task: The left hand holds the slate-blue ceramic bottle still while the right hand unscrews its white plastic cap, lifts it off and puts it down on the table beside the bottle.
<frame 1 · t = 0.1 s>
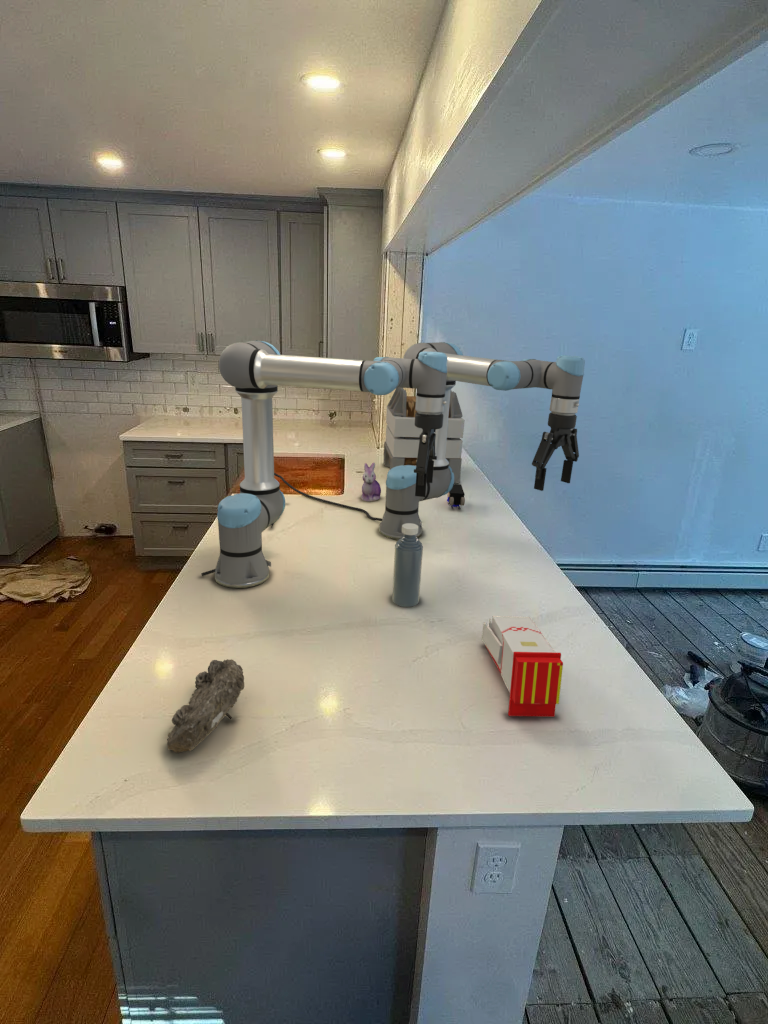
left hand: (424, 489, 157), 28 cm above the counter, tool pointing down, fingers open, 13 cm apart
right hand: (552, 485, 166), 28 cm above the counter, tool pointing down, fingers open, 13 cm apart
bottle: (405, 600, 155), on the counter
figurine character: (454, 505, 231), on the counter
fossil: (212, 717, 108), on the counter
feather: (278, 516, 211), on the counter
figurine: (370, 498, 235), on the counter
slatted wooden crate: (419, 473, 275), on the counter
cap: (410, 527, 147), point 21 cm above the counter, screwed on, not yet turned
toy: (514, 675, 125), on the counter
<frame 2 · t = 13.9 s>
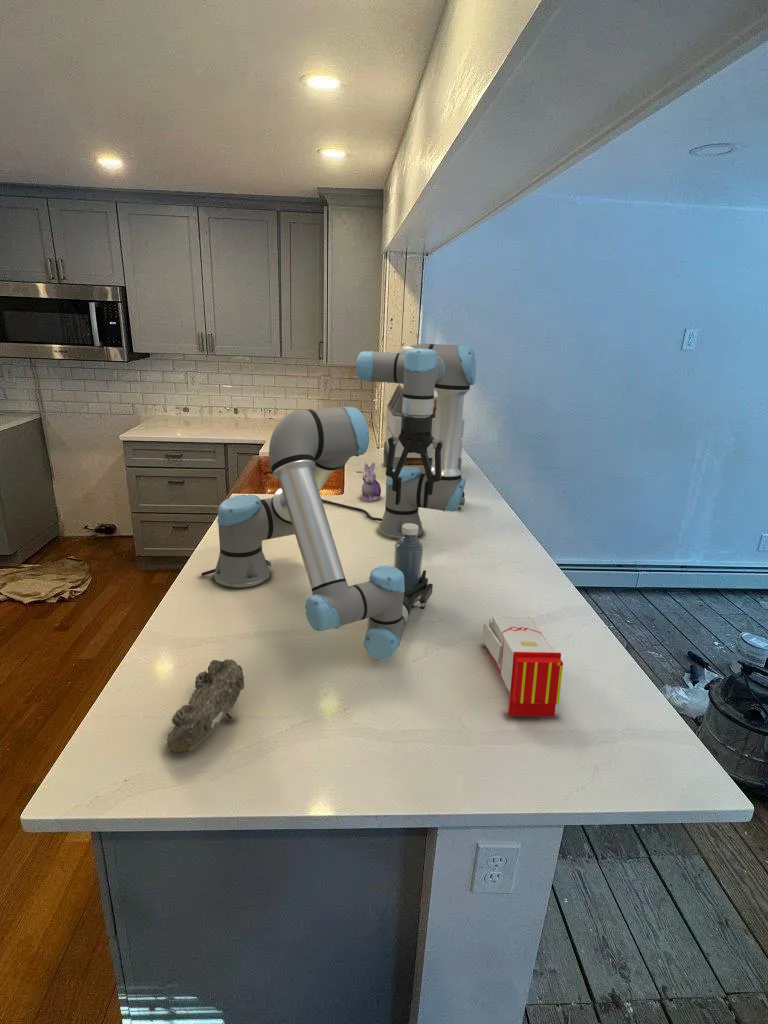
left hand: (409, 572, 157), 6 cm above the counter, tool horizontal, fingers closed on bottle, 7 cm apart
right hand: (411, 504, 145), 28 cm above the counter, tool pointing down, fingers open, 6 cm apart
bottle: (405, 600, 155), on the counter, touching left hand
everything else where it was.
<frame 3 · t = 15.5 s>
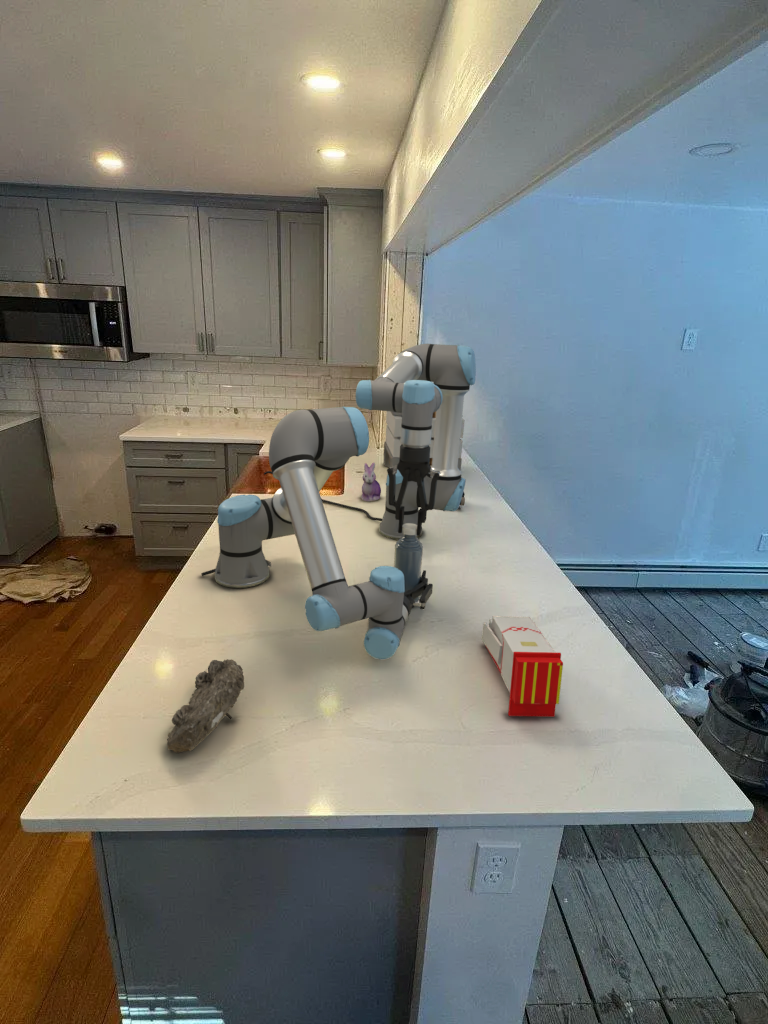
left hand: (409, 572, 157), 6 cm above the counter, tool horizontal, fingers closed on bottle, 7 cm apart
right hand: (409, 532, 148), 20 cm above the counter, tool pointing down, fingers closed on cap, 4 cm apart
bottle: (405, 600, 155), on the counter, touching left hand
cap: (410, 527, 147), point 21 cm above the counter, screwed on, not yet turned, touching right hand
everything else where it was.
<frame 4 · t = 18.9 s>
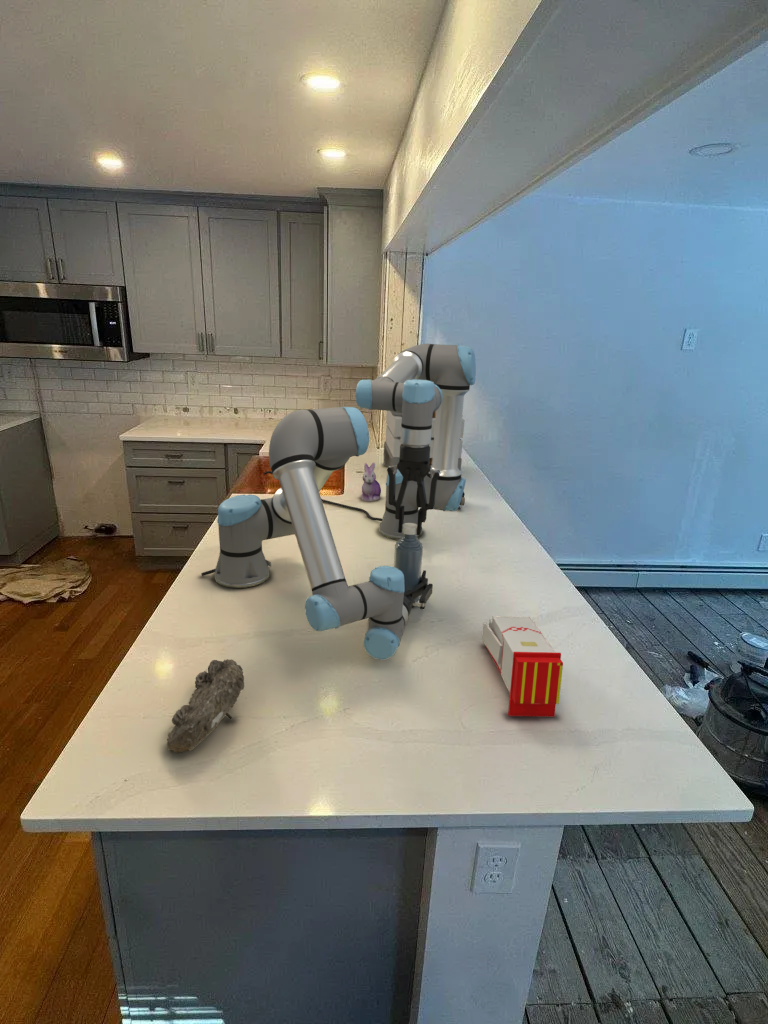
left hand: (409, 572, 157), 6 cm above the counter, tool horizontal, fingers closed on bottle, 7 cm apart
right hand: (409, 531, 148), 20 cm above the counter, tool pointing down, fingers closed on cap, 4 cm apart
bottle: (405, 600, 155), on the counter, touching left hand
cap: (410, 526, 147), point 22 cm above the counter, turned 111° so far, risen 0.1 cm, still on its thread, touching right hand
everything else where it was.
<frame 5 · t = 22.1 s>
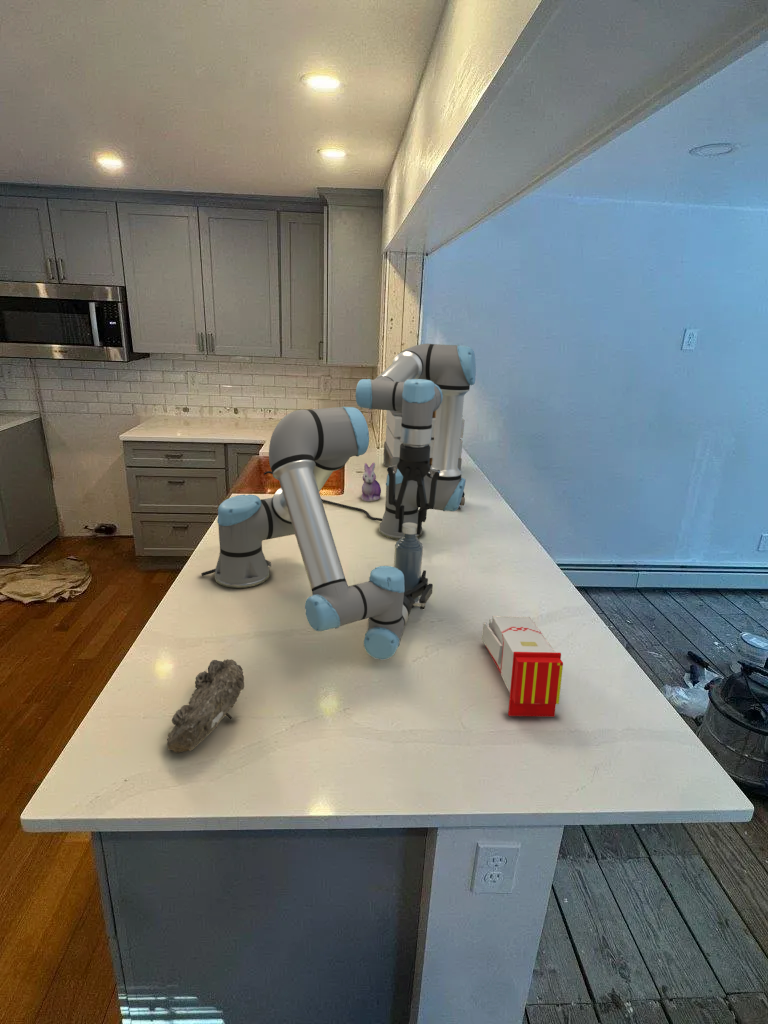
left hand: (409, 572, 157), 6 cm above the counter, tool horizontal, fingers closed on bottle, 7 cm apart
right hand: (409, 531, 148), 20 cm above the counter, tool pointing down, fingers closed on cap, 4 cm apart
bottle: (405, 600, 155), on the counter, touching left hand
cap: (410, 526, 147), point 22 cm above the counter, turned 222° so far, risen 0.2 cm, still on its thread, touching right hand
everything else where it was.
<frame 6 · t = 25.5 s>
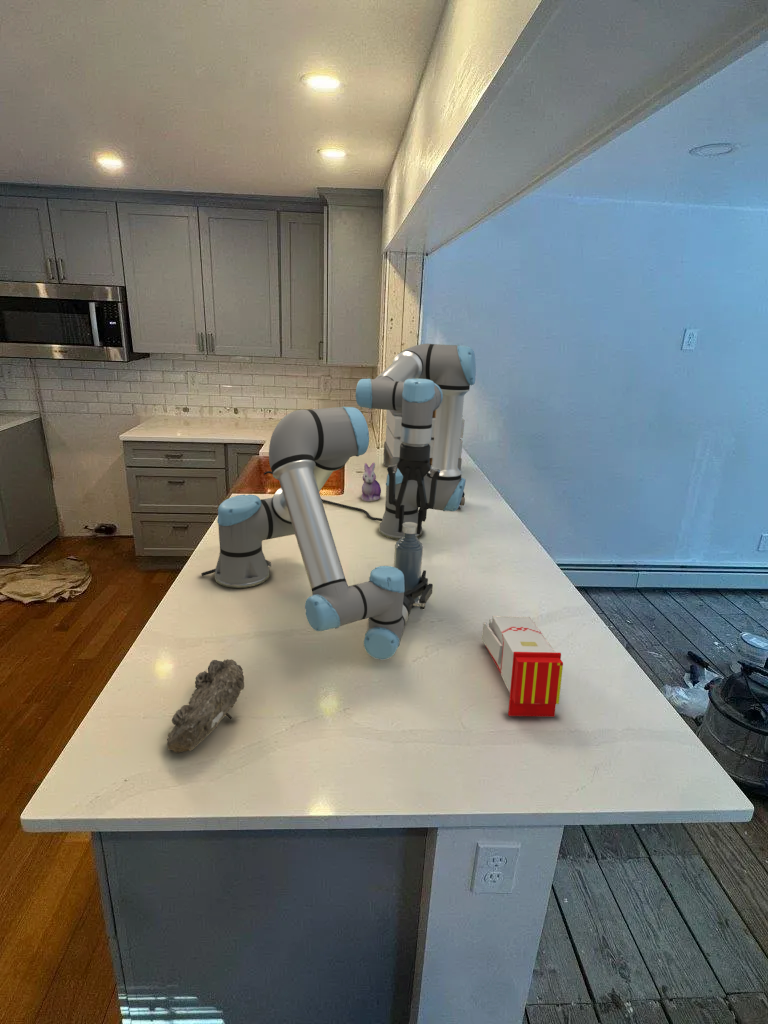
left hand: (409, 572, 157), 6 cm above the counter, tool horizontal, fingers closed on bottle, 7 cm apart
right hand: (409, 531, 148), 20 cm above the counter, tool pointing down, fingers closed on cap, 4 cm apart
bottle: (405, 600, 155), on the counter, touching left hand
cap: (410, 525, 147), point 22 cm above the counter, turned 333° so far, risen 0.3 cm, still on its thread, touching right hand
everything else where it was.
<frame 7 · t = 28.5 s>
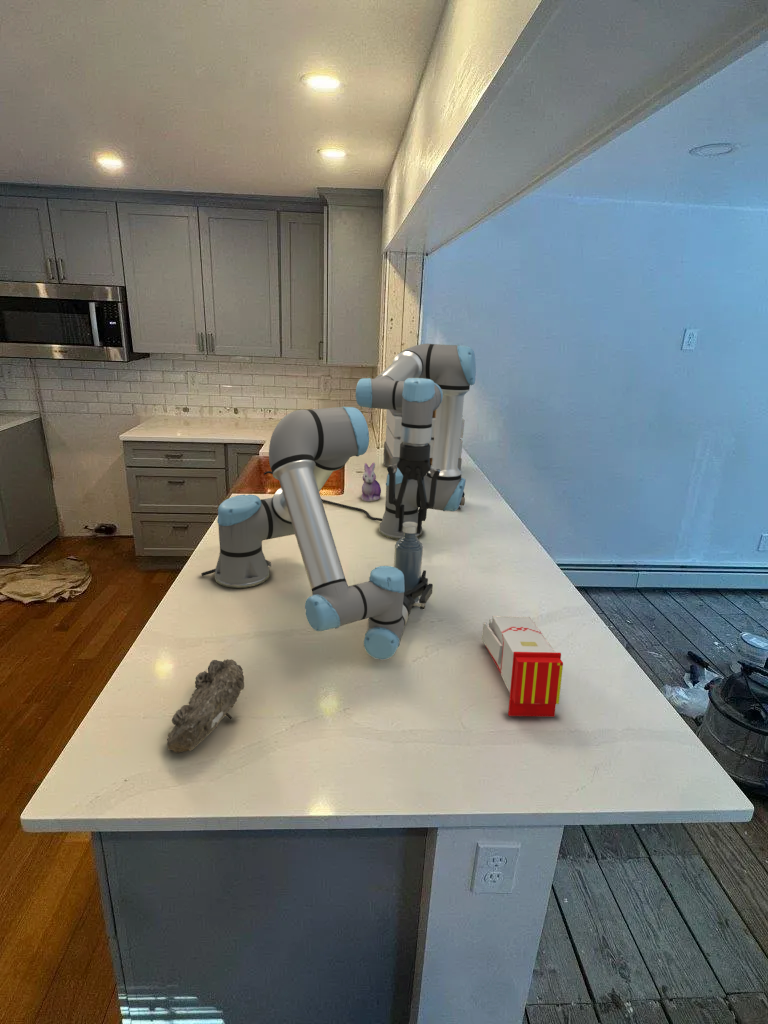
left hand: (409, 572, 157), 6 cm above the counter, tool horizontal, fingers closed on bottle, 7 cm apart
right hand: (409, 530, 148), 20 cm above the counter, tool pointing down, fingers closed on cap, 4 cm apart
bottle: (405, 600, 155), on the counter, touching left hand
cap: (410, 525, 147), point 22 cm above the counter, turned 444° so far, risen 0.5 cm, still on its thread, touching right hand
everything else where it was.
when the right hand's fingers open (1 cm above the counter, at t = 35.5 s): cap drops 2 cm, point 1 cm above the counter.
when the left hand's fingers open (6 cm above the counter, at t = 36.8 s): bottle stays where it is, on the counter.
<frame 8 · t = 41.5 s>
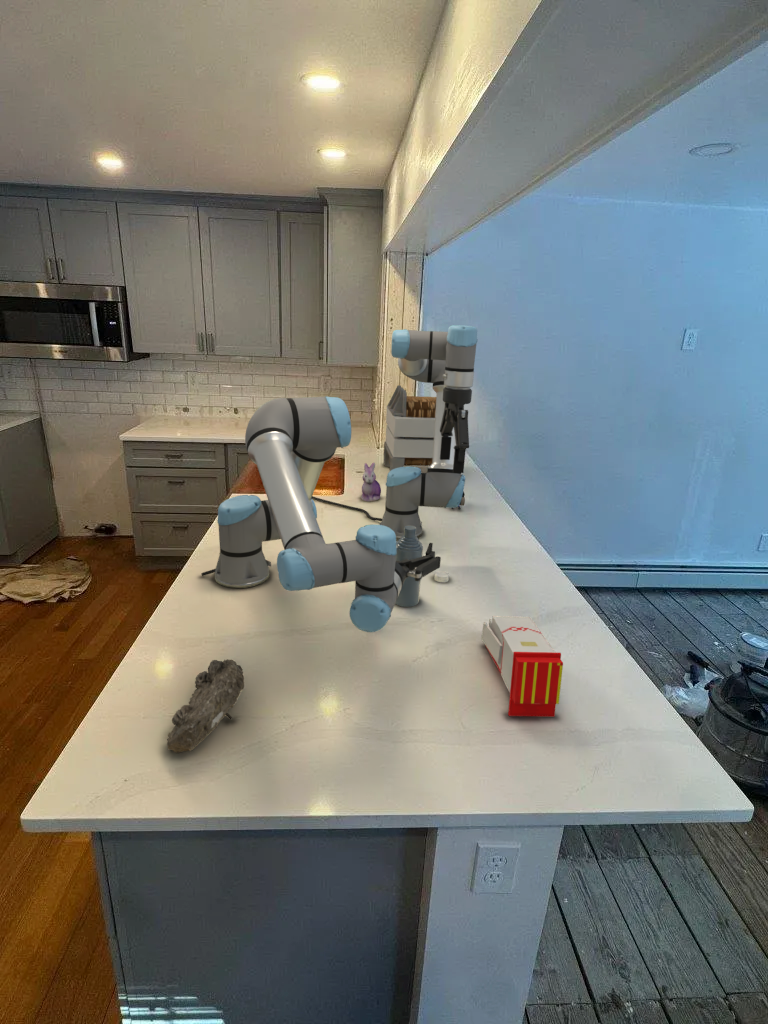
left hand: (403, 544, 139), 20 cm above the counter, tool horizontal, fingers open, 13 cm apart
right hand: (451, 465, 156), 35 cm above the counter, tool pointing down, fingers open, 13 cm apart
bottle: (405, 600, 155), on the counter
cap: (441, 575, 167), point 1 cm above the counter, off its thread
everything else where it was.
at the end: cap came off its thread; cap point 1.4 cm above the counter; the left hand is holding nothing; the right hand is holding nothing; bottle tilted 0°; bottle moved 0.0 cm from its start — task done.
